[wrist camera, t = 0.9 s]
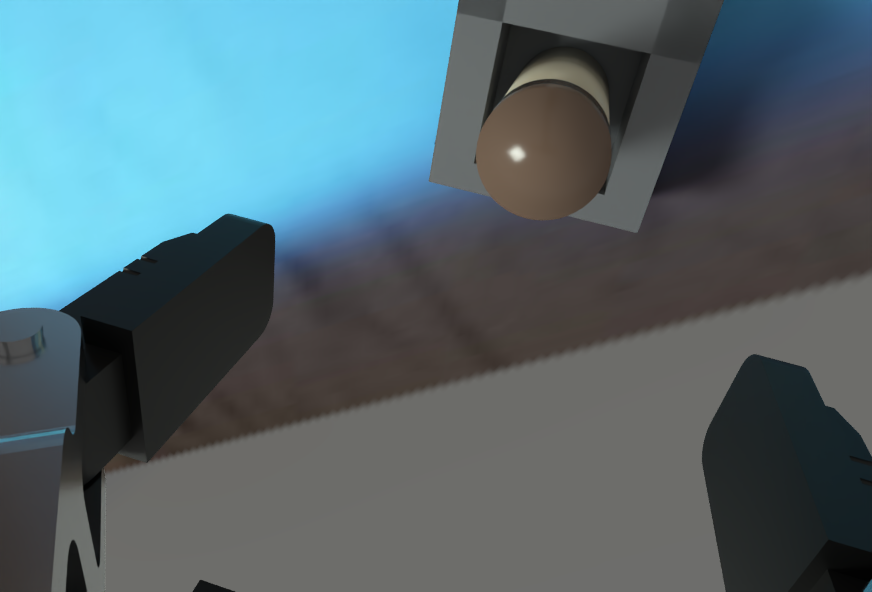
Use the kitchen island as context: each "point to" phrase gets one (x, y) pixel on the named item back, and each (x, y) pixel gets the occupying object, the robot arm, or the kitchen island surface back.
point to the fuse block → (618, 56)
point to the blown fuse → (548, 137)
